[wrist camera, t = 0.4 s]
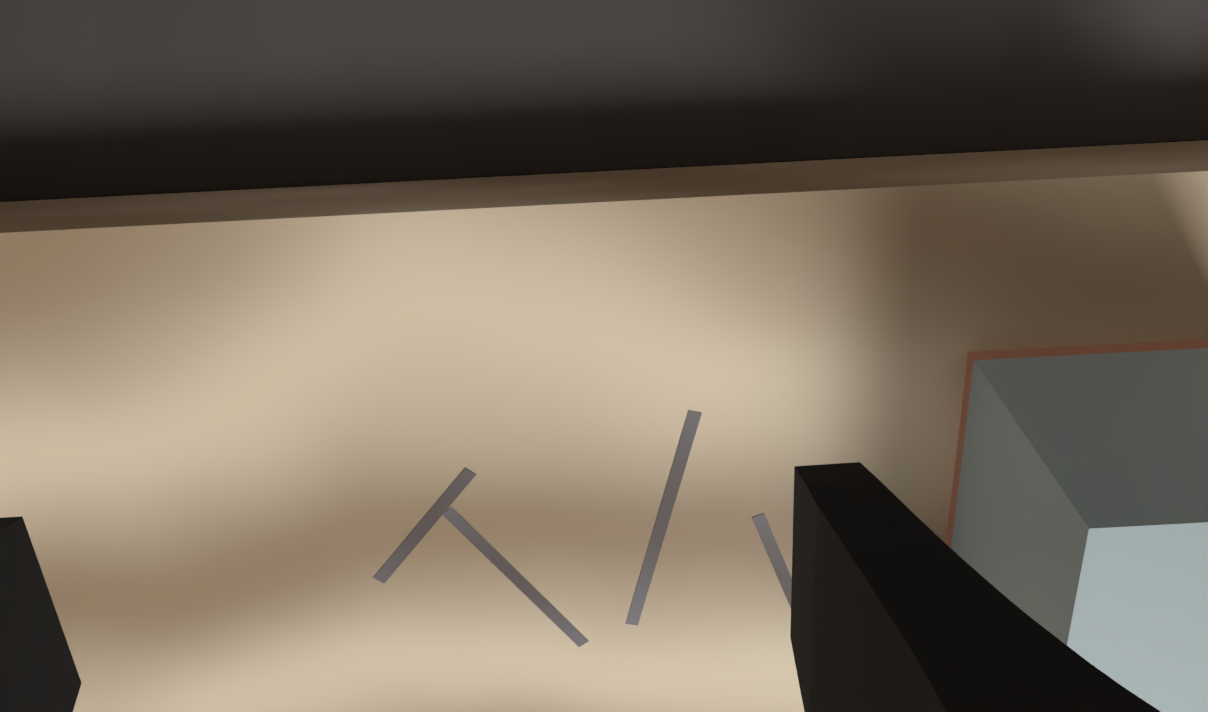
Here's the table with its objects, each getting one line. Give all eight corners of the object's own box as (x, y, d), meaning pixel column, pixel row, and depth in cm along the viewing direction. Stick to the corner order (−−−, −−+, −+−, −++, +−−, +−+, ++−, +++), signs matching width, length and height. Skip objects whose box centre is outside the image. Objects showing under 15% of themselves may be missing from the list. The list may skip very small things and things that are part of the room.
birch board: (1172, 738, 26) (1205, 792, 24) (106, 797, 26) (81, 855, 24) (1328, 134, 19) (1385, 162, 18) (-98, 207, 19) (-149, 240, 18)
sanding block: (1149, 692, 23) (1288, 914, 19) (926, 704, 23) (1013, 929, 19) (1233, 338, 19) (1432, 510, 15) (968, 352, 19) (1088, 528, 15)
